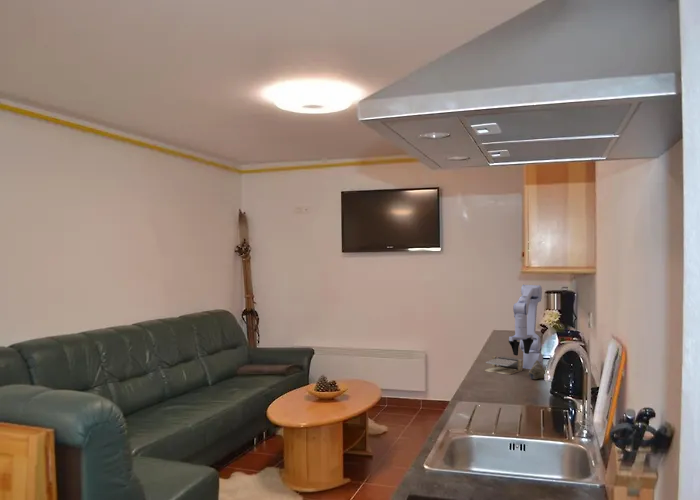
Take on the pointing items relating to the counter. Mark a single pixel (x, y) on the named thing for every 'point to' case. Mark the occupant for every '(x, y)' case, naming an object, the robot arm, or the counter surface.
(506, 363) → the trapdoor
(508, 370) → the frame
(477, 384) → the counter surface
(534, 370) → the rock
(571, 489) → the counter surface
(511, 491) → the counter surface
